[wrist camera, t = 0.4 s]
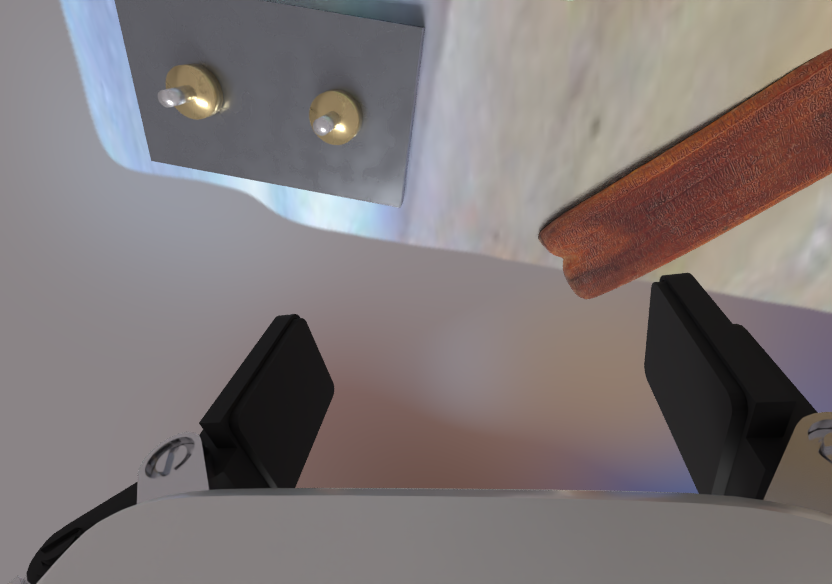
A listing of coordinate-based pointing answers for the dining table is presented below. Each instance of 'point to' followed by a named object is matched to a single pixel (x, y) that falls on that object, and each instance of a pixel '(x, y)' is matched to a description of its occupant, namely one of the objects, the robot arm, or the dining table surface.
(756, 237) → the dining table surface
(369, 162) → the base plate
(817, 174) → the wooden tablet
